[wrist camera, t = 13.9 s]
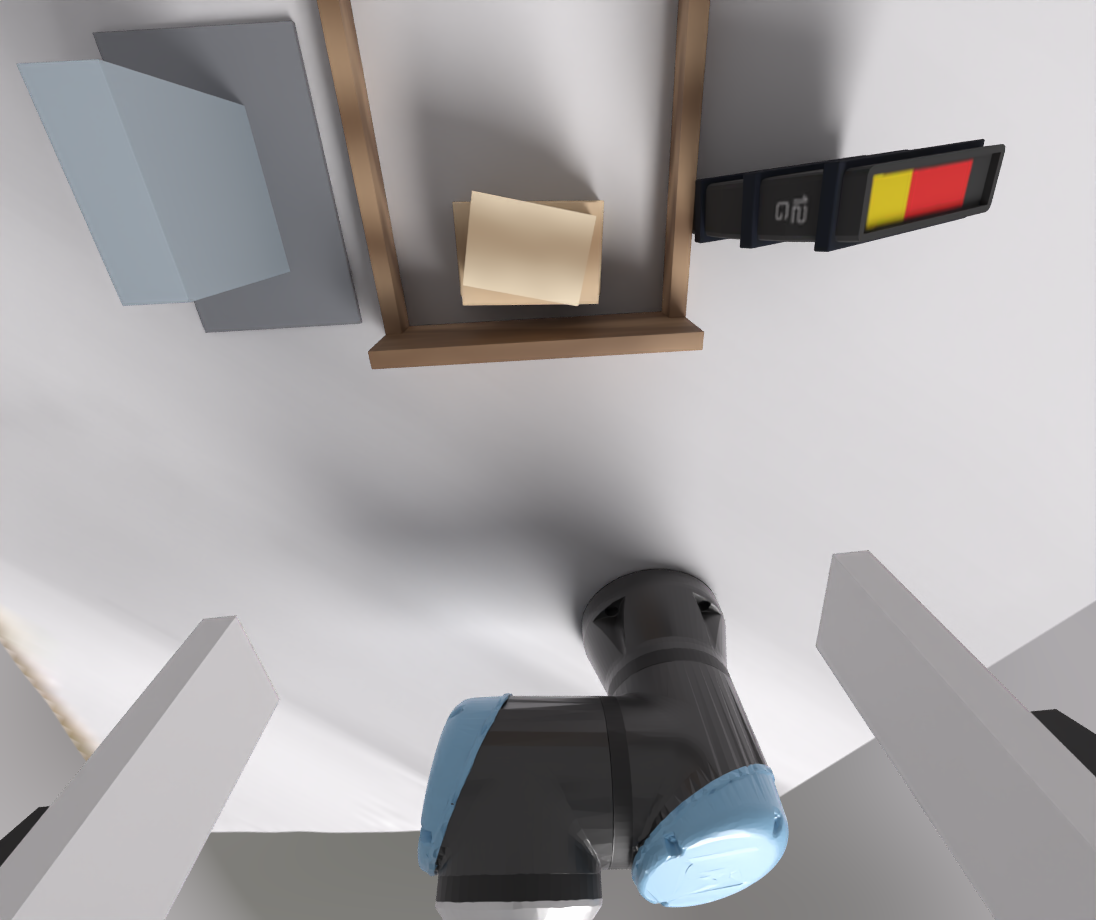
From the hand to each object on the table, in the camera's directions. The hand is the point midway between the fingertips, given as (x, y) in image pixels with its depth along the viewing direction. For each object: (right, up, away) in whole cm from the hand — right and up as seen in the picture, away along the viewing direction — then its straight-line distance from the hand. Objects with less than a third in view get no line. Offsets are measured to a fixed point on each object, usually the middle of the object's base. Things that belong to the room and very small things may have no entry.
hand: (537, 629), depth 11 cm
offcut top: (-1, +17, +20) cm, 26 cm away
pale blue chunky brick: (-21, +22, +23) cm, 38 cm away
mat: (-21, +22, +23) cm, 38 cm away
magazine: (+17, +23, +24) cm, 37 cm away
